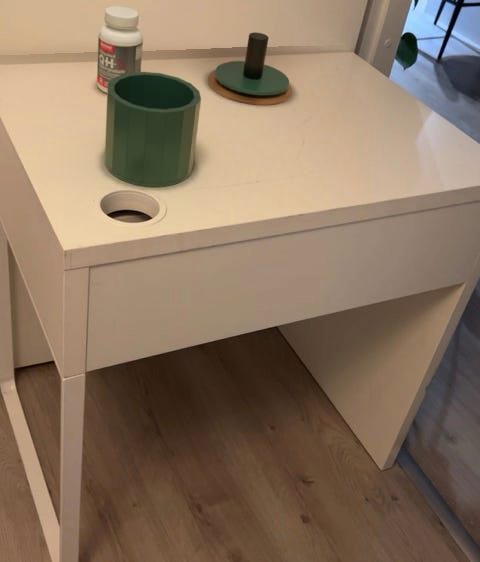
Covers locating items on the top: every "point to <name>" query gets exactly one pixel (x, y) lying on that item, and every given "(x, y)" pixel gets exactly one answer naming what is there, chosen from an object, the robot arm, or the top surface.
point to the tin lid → (253, 71)
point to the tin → (151, 128)
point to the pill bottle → (118, 45)
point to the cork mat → (247, 97)
